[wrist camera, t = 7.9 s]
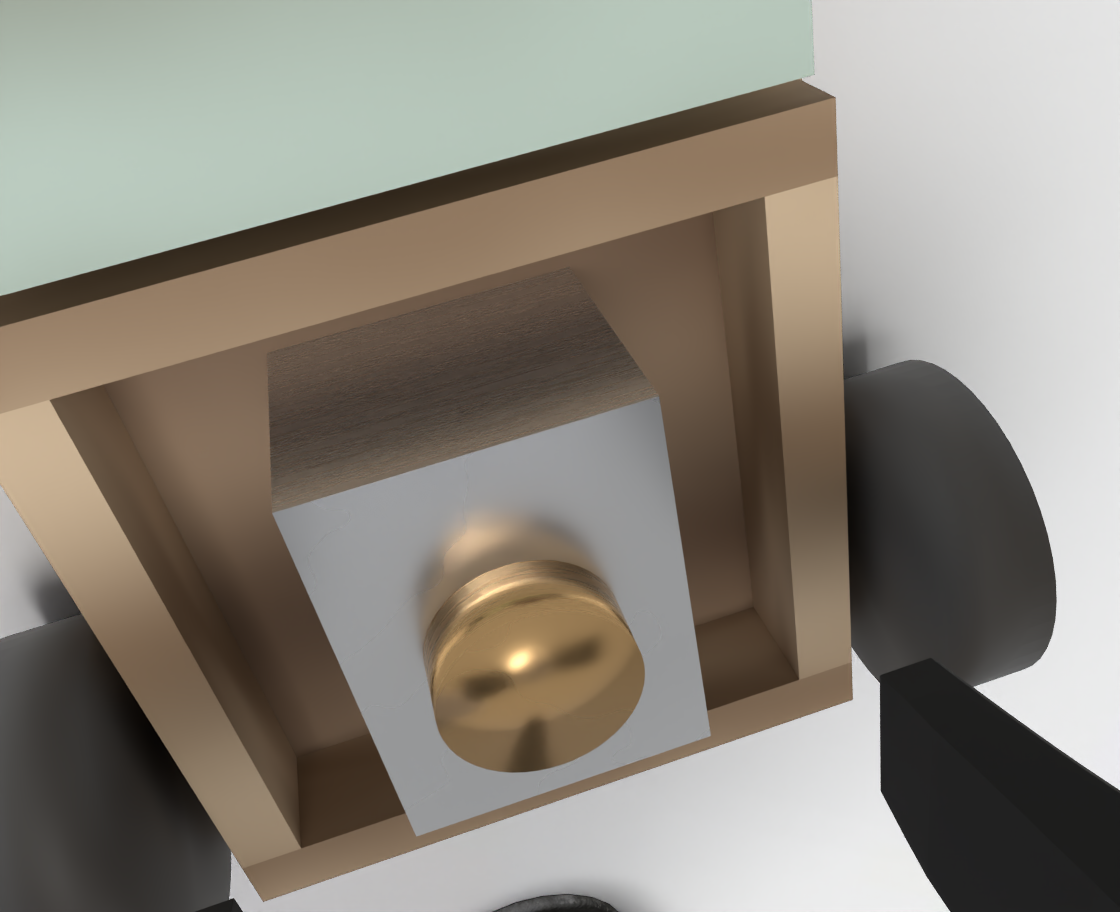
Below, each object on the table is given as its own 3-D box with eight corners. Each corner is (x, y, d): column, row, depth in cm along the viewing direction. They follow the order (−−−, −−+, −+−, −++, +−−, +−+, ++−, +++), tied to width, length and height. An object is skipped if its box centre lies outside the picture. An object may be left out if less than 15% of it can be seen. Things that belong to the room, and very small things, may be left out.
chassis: (872, 565, 22) (1036, 764, 17) (157, 800, 20) (130, 1088, 16) (857, -850, 11) (1315, -1350, 6) (-763, -577, 9) (-1809, -973, 4)
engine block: (628, 569, 18) (736, 789, 14) (385, 647, 18) (426, 897, 14) (569, 266, 15) (690, 440, 11) (266, 352, 14) (274, 568, 10)
